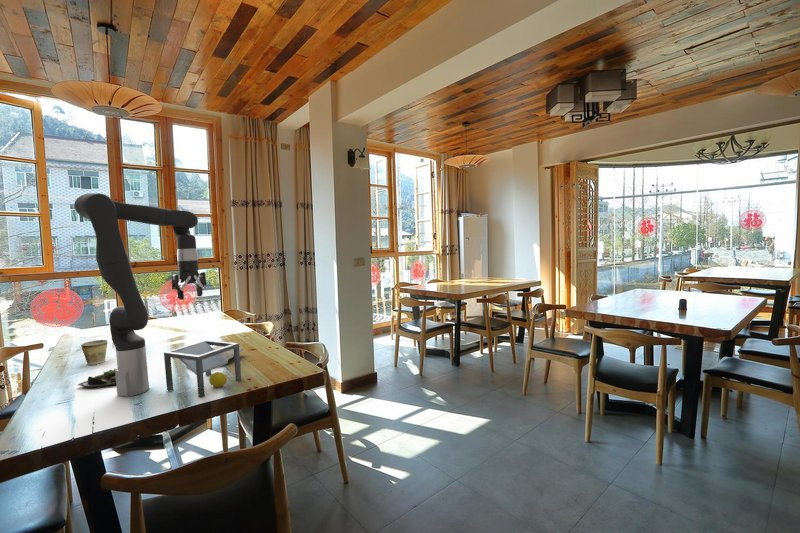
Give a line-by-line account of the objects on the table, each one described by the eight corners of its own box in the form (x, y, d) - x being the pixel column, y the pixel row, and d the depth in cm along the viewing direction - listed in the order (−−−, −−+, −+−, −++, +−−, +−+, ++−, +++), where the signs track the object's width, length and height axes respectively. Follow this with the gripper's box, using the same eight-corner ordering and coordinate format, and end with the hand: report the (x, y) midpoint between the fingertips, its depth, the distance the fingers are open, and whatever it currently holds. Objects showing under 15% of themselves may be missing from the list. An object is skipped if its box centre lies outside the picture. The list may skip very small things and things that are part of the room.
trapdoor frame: (201, 397, 138) (198, 357, 137) (167, 391, 146) (163, 352, 144) (241, 379, 155) (238, 343, 154) (208, 374, 163) (206, 339, 161)
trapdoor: (196, 375, 142) (197, 373, 141) (172, 352, 146) (173, 350, 146) (227, 363, 154) (228, 361, 154) (204, 343, 159) (205, 341, 158)
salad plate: (98, 375, 168) (97, 365, 168) (144, 370, 172) (143, 360, 172) (73, 392, 149) (71, 380, 149) (125, 386, 154) (124, 374, 153)
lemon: (218, 371, 153) (232, 373, 149) (215, 385, 152) (229, 388, 148) (206, 371, 148) (220, 373, 144) (203, 385, 147) (217, 388, 143)
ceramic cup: (105, 363, 183) (103, 343, 183) (79, 367, 180) (77, 346, 179) (114, 356, 195) (112, 337, 195) (90, 359, 192) (88, 340, 191)
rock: (178, 354, 176) (231, 336, 194) (181, 369, 177) (233, 349, 195) (195, 364, 163) (250, 343, 182) (199, 379, 165) (252, 357, 183)
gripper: (178, 260, 152) (181, 300, 153) (208, 258, 165) (211, 295, 166) (165, 260, 155) (168, 300, 156) (196, 258, 168) (199, 295, 169)
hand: (190, 297), depth 161 cm, fingers open, 8 cm apart
